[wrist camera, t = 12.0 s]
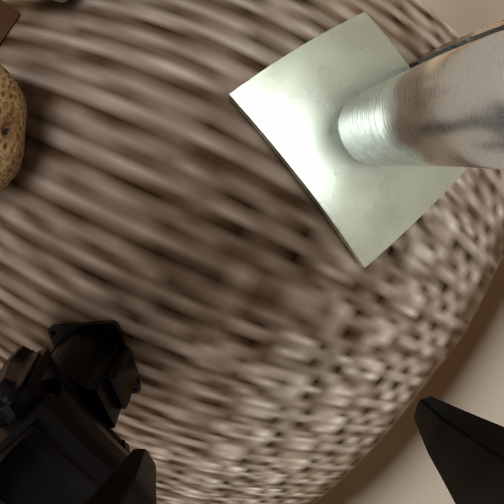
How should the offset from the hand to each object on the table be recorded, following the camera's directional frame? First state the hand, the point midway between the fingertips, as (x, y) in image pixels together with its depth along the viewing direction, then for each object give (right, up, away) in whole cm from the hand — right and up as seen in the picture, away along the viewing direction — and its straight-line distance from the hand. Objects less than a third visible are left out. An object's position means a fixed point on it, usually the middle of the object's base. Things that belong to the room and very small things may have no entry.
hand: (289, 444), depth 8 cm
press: (+9, +13, +11) cm, 20 cm away
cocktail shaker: (+6, +14, +9) cm, 18 cm away
